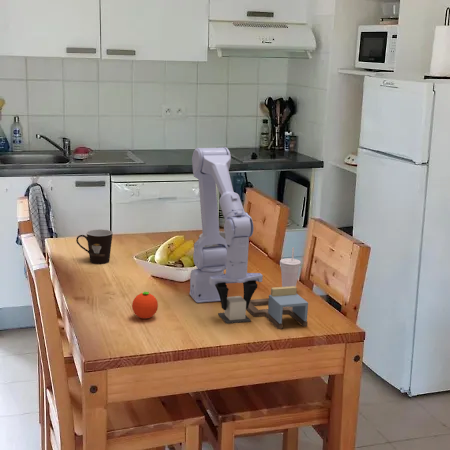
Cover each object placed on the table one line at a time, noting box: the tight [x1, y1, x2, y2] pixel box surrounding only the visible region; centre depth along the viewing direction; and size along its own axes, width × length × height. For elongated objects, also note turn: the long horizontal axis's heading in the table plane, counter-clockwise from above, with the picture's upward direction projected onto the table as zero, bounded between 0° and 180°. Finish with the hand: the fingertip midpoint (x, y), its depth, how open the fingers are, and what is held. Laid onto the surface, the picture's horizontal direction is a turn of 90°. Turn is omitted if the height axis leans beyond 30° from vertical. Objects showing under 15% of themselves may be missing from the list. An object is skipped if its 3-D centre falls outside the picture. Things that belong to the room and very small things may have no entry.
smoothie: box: [279, 247, 302, 288], centre depth 214 cm, size 6×6×14 cm
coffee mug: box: [75, 229, 114, 265], centre depth 237 cm, size 12×9×10 cm
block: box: [223, 295, 247, 320], centre depth 192 cm, size 4×4×5 cm
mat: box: [218, 312, 252, 325], centre depth 193 cm, size 7×7×1 cm
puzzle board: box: [246, 297, 308, 330], centre depth 197 cm, size 15×20×1 cm
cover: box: [267, 286, 309, 324], centre depth 190 cm, size 8×8×7 cm
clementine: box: [131, 291, 159, 319], centre depth 190 cm, size 8×7×7 cm
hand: (234, 307), depth 192 cm, fingers open, 6 cm apart
